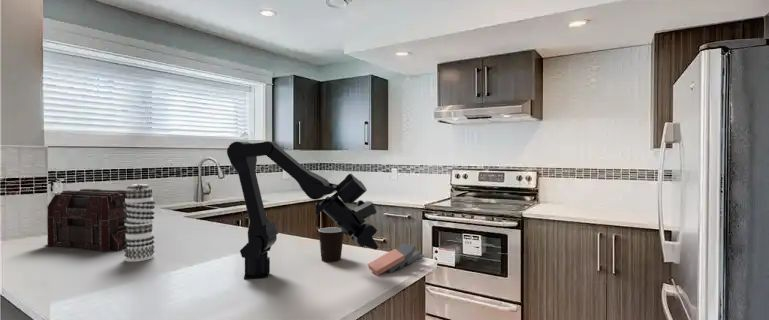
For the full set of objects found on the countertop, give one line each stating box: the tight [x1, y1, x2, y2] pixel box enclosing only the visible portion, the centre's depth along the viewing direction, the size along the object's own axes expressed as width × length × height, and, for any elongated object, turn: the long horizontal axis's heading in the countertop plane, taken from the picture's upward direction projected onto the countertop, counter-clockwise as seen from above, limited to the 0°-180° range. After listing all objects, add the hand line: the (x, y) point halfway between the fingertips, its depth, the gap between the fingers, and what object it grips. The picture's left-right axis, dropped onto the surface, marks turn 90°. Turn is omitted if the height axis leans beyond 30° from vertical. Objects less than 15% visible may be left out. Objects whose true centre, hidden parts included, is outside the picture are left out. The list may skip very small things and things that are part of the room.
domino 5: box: [409, 254, 425, 265], centre depth 130 cm, size 2×5×10 cm
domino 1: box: [367, 248, 405, 276], centre depth 116 cm, size 2×5×10 cm
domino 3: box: [397, 242, 417, 270], centre depth 123 cm, size 2×5×10 cm
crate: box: [46, 188, 127, 253], centre depth 150 cm, size 35×19×21 cm, turn 75°
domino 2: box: [385, 245, 413, 274], centre depth 119 cm, size 2×5×10 cm
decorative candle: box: [123, 183, 156, 263], centre depth 130 cm, size 9×9×25 cm
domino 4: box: [404, 250, 422, 266], centre depth 127 cm, size 2×5×10 cm
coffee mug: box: [317, 226, 345, 263], centre depth 130 cm, size 12×9×10 cm
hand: (376, 248), depth 114 cm, fingers closed
